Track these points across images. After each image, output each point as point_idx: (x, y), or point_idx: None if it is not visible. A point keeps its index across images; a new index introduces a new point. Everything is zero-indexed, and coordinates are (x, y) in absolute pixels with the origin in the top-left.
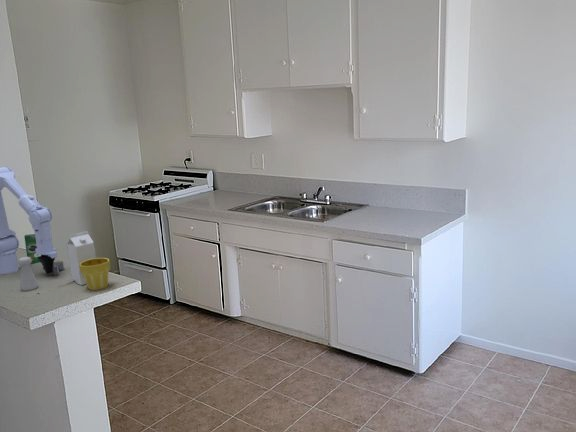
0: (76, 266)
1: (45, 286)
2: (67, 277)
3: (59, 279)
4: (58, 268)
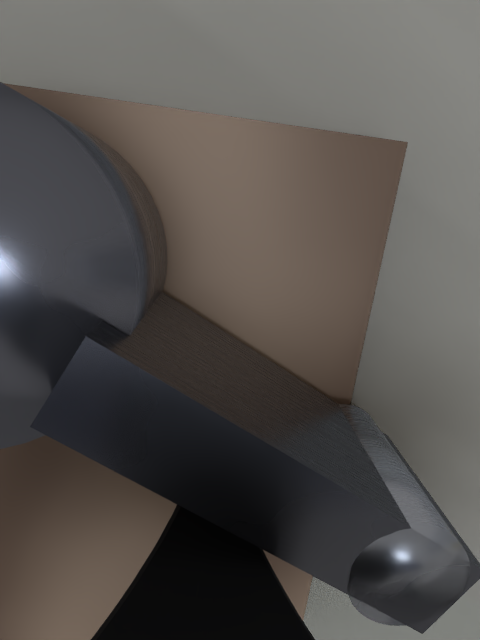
0: None
1: (460, 624)
2: (440, 311)
3: (399, 418)
4: (198, 339)
